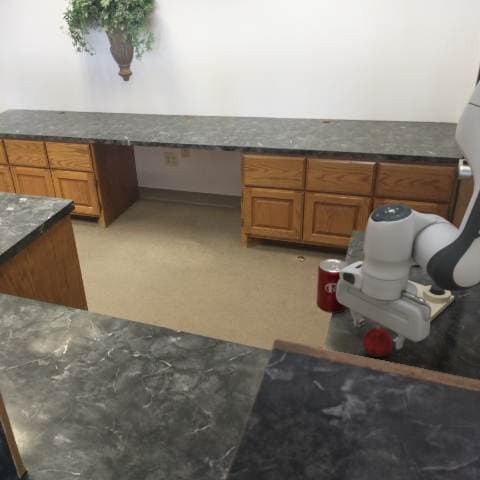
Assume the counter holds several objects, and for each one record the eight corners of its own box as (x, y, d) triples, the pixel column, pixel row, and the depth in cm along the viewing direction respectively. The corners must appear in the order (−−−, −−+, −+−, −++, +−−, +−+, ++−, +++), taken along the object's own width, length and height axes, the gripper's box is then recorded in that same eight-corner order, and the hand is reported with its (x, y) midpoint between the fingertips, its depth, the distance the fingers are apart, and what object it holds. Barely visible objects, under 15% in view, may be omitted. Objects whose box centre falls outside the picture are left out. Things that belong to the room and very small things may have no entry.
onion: (390, 366, 108) (394, 336, 105) (361, 362, 111) (364, 332, 107) (390, 349, 113) (393, 320, 110) (362, 345, 115) (365, 316, 112)
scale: (453, 300, 127) (455, 290, 126) (428, 323, 120) (429, 313, 119) (395, 280, 138) (396, 270, 136) (369, 300, 131) (370, 290, 130)
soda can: (310, 303, 132) (312, 262, 127) (333, 295, 134) (336, 255, 129) (328, 317, 126) (330, 275, 121) (352, 309, 128) (355, 267, 123)
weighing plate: (424, 288, 128) (425, 287, 128) (405, 304, 123) (405, 303, 122) (388, 275, 135) (388, 274, 135) (368, 290, 130) (368, 289, 129)
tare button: (446, 292, 126) (446, 286, 125) (440, 297, 124) (441, 291, 124) (433, 287, 128) (434, 282, 128) (427, 292, 127) (428, 287, 126)
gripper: (442, 296, 97) (432, 354, 103) (352, 258, 113) (348, 310, 119) (422, 309, 94) (413, 367, 100) (333, 268, 110) (329, 320, 116)
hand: (377, 336), depth 110 cm, fingers open, 8 cm apart
